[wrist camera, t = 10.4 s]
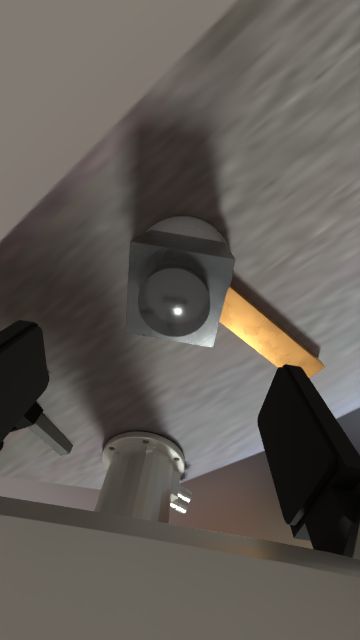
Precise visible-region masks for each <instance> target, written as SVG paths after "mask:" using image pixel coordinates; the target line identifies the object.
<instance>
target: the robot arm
mask: <svg viewBox="0 0 360 640" xmlns="http://www.w3.org/2000/svg"><path fill="white" fill-rule="evenodd" d="M47 385H48V375H47V366H46V358H45V350H44V341H43V333H42V329H41V328H40V327H39V326H38V324H37V323H35V322H29V321H23V320H19V321H17V322H15V323H13V324H12V325H10V326H8V327H7V328H5V329H4V330H2V331H0V443H1V442H2V441H3V440H4V438H5V437H6V436H7V435H8V434H9V432H10V431H11V430H12V429H13V428H14V427H15V425H16V424H17V423H18V422H19V421H20V419H21V418H22V417H23V416H24V415H25V413H26V412H27V411H28V410H29V409H30V408H31V406H32V405H33V404H34V403H35V402H36V400H37V399H38V398H39V397H40V396H41V395H42V393H43V392H44V391H45V390H46V388H47ZM258 427H259V431H260V434H261V438H262V442H263V445H264V449H265V452H266V456H267V460H268V463H269V467H270V471H271V474H272V478H273V481H274V485H275V488H276V492H277V496H278V499H279V503H280V507H281V510H282V514H283V517H284V520H285V522H286V523H287V524H289V525H290V527H291V530H292V533H293V537H294V538H297V539H303V540H310V541H311V543H312V546H313V548H314V549H309V548H304V547H298V546H293V545H288V544H282V543H278V542H272V541H267V540H261V539H256V538H250V537H244V536H238V535H231V534H226V533H220V532H214V531H208V530H202V529H197V528H191V527H185V526H179V525H173V524H169V518H170V507H172V508H173V509H175V510H177V511H179V512H181V513H185V512H186V511H187V508H188V502H189V501H190V500H191V497H192V493H191V492H190V491H189V490H187V489H185V488H182V487H180V484H179V479H180V478H181V477H182V475H183V473H184V469H185V459H184V456H183V454H182V452H181V450H180V449H179V448H178V447H177V446H176V445H175V444H174V443H173V442H171V441H170V440H168V439H166V438H164V437H162V436H159V435H157V434H153V433H149V432H134V431H133V432H126V433H123V434H119V435H117V436H115V437H113V438H112V439H111V440H109V441H108V442H107V444H106V445H105V448H104V450H103V453H102V463H103V465H104V467H105V469H106V470H107V474H106V477H105V480H104V483H103V486H102V489H101V492H100V495H99V498H98V500H97V504H96V506H95V509H94V511H88V510H82V509H76V508H69V507H64V506H58V505H52V504H45V503H39V502H32V501H27V500H20V499H14V498H7V497H1V496H0V640H360V455H359V454H358V452H357V451H356V449H355V448H354V446H353V445H352V443H351V442H350V440H349V439H348V437H347V436H346V434H345V432H344V431H343V429H342V428H341V426H340V425H339V423H338V422H337V420H336V419H335V417H334V416H333V414H332V413H331V411H330V410H329V408H328V407H327V405H326V403H325V402H324V400H323V399H322V397H321V396H320V394H319V393H318V391H317V390H316V388H315V387H314V385H313V384H312V382H311V381H310V379H309V378H308V376H307V375H306V373H305V371H304V370H303V368H302V367H300V366H294V365H288V364H284V365H283V366H282V367H279V368H278V369H277V371H276V374H275V376H274V379H273V381H272V383H271V386H270V388H269V391H268V393H267V396H266V398H265V401H264V403H263V405H262V408H261V410H260V413H259V415H258Z"/></svg>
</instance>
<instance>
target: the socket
mask: <svg viewBox="0 0 360 640" xmlns="http://www.w3.org/2000/svg"><path fill="white" fill-rule="evenodd" d="M234 263H235V258H234V256H233V255H232V253H231V252H230V250H229V248H228V247H227V245H226V243H225V242H221V241H215V240H209V239H203V238H197V237H192V236H186V235H180V234H174V233H168V232H162V231H157V230H149V231H148V232H146V233H144V234H142V235H141V236H139V237H137V238H135V239H134V240H132V241H130V255H129V274H128V293H127V312H126V331H125V333H131V334H137V335H143V336H149V337H155V338H160V339H166V340H172V341H178V342H184V343H190V344H196V345H201V346H207V347H213V344H214V340H215V336H216V332H217V328H218V324H219V321H220V317H221V313H222V309H223V305H224V301H225V297H226V294H227V290H228V286H229V282H230V278H231V274H232V271H233V267H234Z"/></svg>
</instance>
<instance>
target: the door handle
mask: <svg viewBox="0 0 360 640" xmlns="http://www.w3.org/2000/svg"><path fill="white" fill-rule="evenodd" d="M47 375H48V373H47ZM48 382H49V375H48ZM42 412H43V409H42V408H41V407H40V406H39V405H38V404H37V403H36V402H35V403H34V404H33V405H32V406H31V408H30V409H29V410H28V411H27V412H26V413H25V415H24V416H23V417H22V418H21V419H20V421H19V422H18V423H17V424H16V425H15V427H14V428H13V429H12V430H11V431H10V432H12V431H16V430H19V429H22V428H26V427H28V428H29V429H30V430H31V431H32V432H34V433H35V434H36V435H37V436H38V437H40V438H41V439H42V440H43V441H44V442H45V443H47V444H48V445H49V446H50V447H51V448H52V449H54V450H55V451H56V452H57V453H58V454H59V455H61V456H62V455H66V454H69V453H70V451H71V449H72V447H73V445H72V444H71V443H70V442H69V441H68V440H67V439H66V438H65V437H64V436H63V435H62V434H61V432H60V431H59V430H58V429H57V428H56V427H55V426H54V425H53V424H52V423H51V422H50V421H49V420H48V419H47V418H46V417H45V416H44V415H43V414H42ZM2 448H3V442H1V443H0V451H1V449H2Z"/></svg>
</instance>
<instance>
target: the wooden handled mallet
mask: <svg viewBox="0 0 360 640" xmlns="http://www.w3.org/2000/svg"><path fill="white" fill-rule="evenodd" d="M149 230H157V231H162V232H168V233H174V234H180V235H186V236H192V237H197V238H203V239H209V240H215V241H221V242H225V243H226V241H225V239H224V238H223V236H222V235H221V234H220V232H219V231H218V230H217V229H216V228H215V227H214V226H212V225H211V224H210V223H208V222H207V221H205V220H203V219H200V218H198V217H194V216H187V215H179V216H173V217H169V218H166V219H164V220H162V221H160V222H158V223H156V224H154V225H153V226H152V227H150V228H149V229H148V230H147V231H146V232H148V231H149ZM146 232H145V233H146ZM226 245H227V247H228V248H229V246H228V244H227V243H226ZM229 250H230V249H229ZM230 252H231V251H230ZM232 276H233V271H232V274H231V278H230V282H229V286H228V290H227V294H226V297H225V301H224V305H223V309H222V313H221V317H220V322H221V323H222V324H223V325H225V326H226V327H227V328H229V329H230V330H231V331H232V332H234V333H235V334H236V335H237V336H239V337H240V338H241V339H243V340H244V341H245V342H246V343H248V344H249V345H250V346H252V347H253V348H254V349H255V350H257V351H258V352H259V353H261V354H262V355H263V356H264V357H266V358H267V359H268V360H269V361H271V362H272V363H273V364H275V365H276V366H277V367H278V368H279V367H282V366H283V365H284V364H288V365H294V366H300V367H302V368H303V370H304V371H305V373H306V375H307V376H308V378H310V377H311V376H313V375H314V374H316V373H317V372H319V371H320V370H322V369H323V368H324V367H325V366H324V365H323V364H322V362H321V361H320V360H319V358H318V357H317V356H315V355H314V354H313V353H312V352H311V351H309V350H308V349H307V348H306V347H305V346H303V345H302V344H301V343H300V342H299V341H298V340H296V339H295V338H294V337H293V336H292V335H290V334H289V333H288V332H287V331H286V330H284V329H283V328H282V327H281V326H280V325H278V324H277V323H276V322H275V321H274V320H273V319H271V318H270V317H269V316H268V315H267V314H265V313H264V312H263V311H262V310H261V309H259V308H258V307H257V306H256V305H255V304H254V303H252V302H251V301H250V300H249V299H248V298H246V297H245V296H244V295H243V294H242V293H240V292H239V291H238V290H237V289H236V288H235V287H233V286H232V285H231V281H232Z"/></svg>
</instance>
